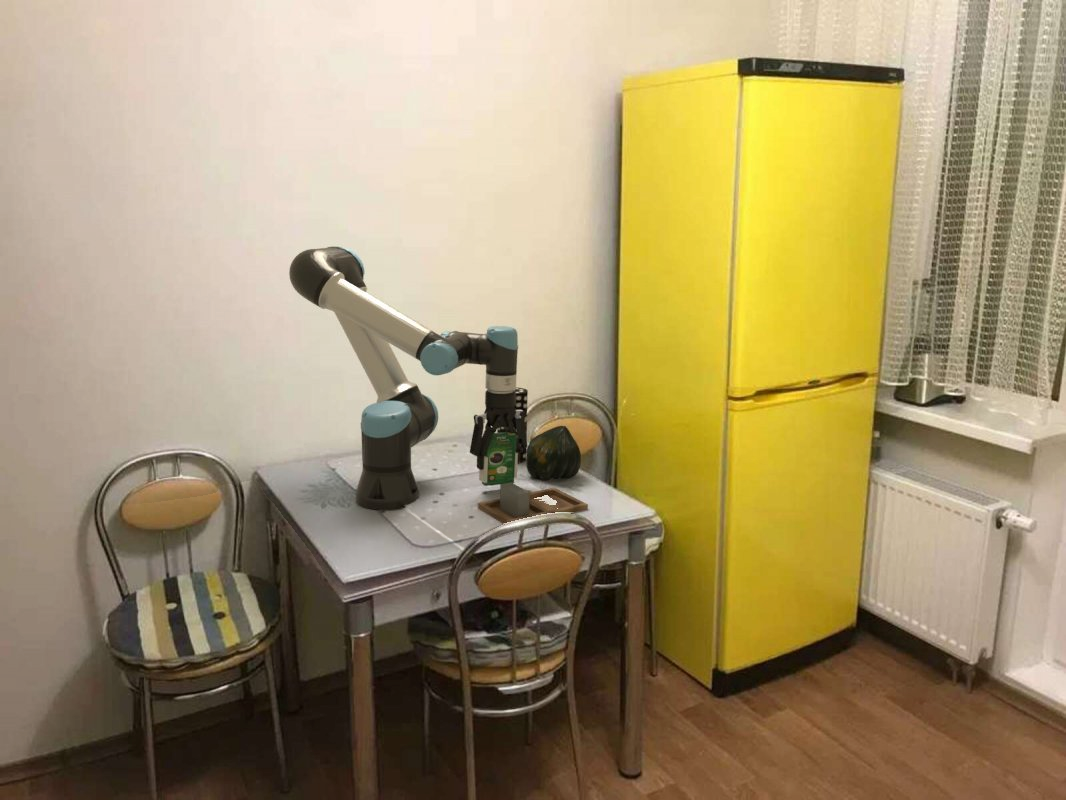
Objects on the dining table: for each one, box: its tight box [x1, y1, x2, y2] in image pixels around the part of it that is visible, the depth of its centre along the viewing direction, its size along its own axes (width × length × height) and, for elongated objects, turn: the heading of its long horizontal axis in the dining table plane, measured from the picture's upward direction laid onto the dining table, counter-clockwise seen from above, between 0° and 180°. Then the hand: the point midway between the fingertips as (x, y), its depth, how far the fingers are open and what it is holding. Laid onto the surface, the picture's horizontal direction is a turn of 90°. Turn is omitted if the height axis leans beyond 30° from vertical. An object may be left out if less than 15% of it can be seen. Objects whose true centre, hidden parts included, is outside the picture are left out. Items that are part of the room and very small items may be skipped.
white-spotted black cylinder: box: [496, 386, 529, 464], centre depth 242 cm, size 8×8×20 cm
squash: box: [526, 425, 582, 481], centre depth 228 cm, size 14×15×15 cm
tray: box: [477, 487, 589, 524], centre depth 203 cm, size 22×14×2 cm, turn 124°
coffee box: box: [481, 432, 516, 487], centre depth 214 cm, size 8×3×13 cm, turn 114°
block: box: [499, 482, 530, 518], centre depth 200 cm, size 3×8×6 cm, turn 34°
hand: (498, 478), depth 215 cm, fingers closed on coffee box, 8 cm apart
